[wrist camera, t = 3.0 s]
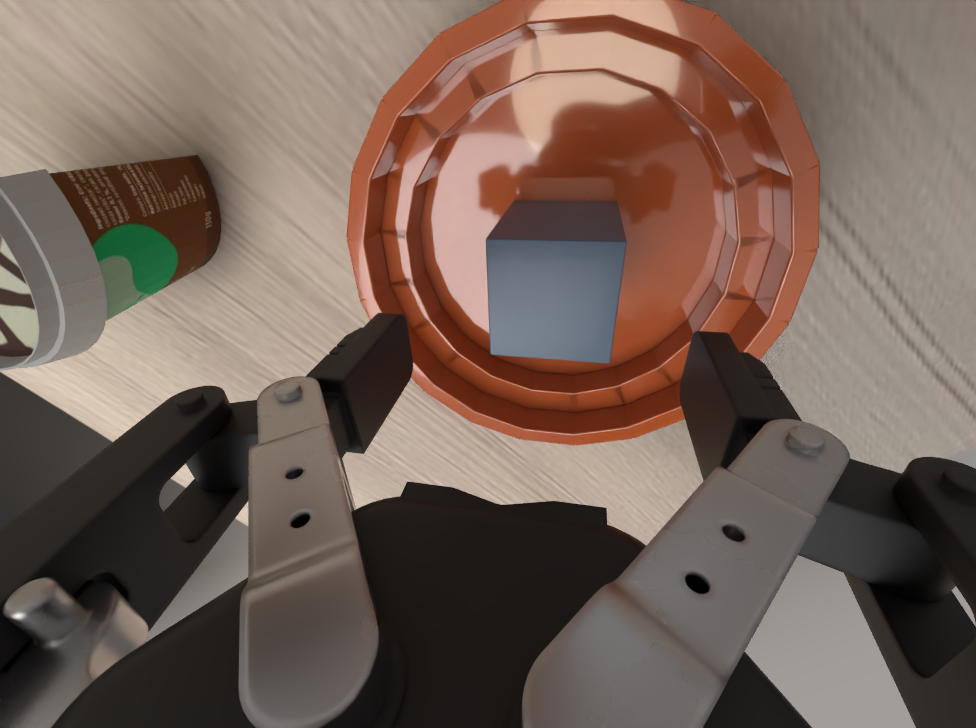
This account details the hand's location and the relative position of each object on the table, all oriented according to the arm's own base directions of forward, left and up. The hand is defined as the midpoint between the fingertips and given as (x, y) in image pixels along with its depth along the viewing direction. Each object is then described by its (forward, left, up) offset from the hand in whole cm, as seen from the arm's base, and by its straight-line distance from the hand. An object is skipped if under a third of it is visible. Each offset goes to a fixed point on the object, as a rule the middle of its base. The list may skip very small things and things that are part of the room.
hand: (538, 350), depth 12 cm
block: (0, 0, -9) cm, 9 cm away
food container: (+22, 0, -10) cm, 24 cm away
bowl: (0, 0, -10) cm, 10 cm away
